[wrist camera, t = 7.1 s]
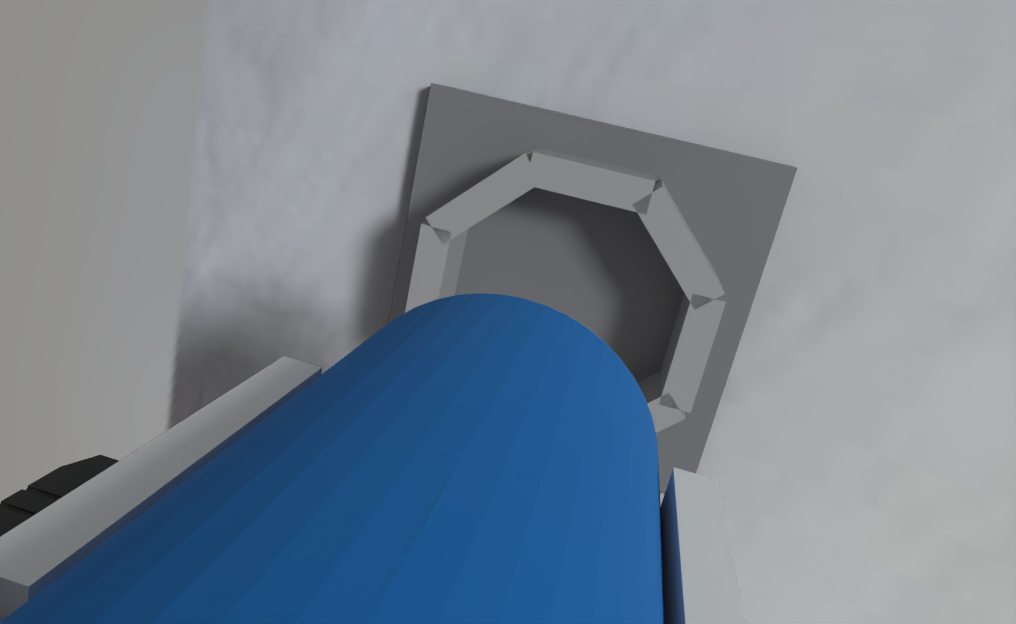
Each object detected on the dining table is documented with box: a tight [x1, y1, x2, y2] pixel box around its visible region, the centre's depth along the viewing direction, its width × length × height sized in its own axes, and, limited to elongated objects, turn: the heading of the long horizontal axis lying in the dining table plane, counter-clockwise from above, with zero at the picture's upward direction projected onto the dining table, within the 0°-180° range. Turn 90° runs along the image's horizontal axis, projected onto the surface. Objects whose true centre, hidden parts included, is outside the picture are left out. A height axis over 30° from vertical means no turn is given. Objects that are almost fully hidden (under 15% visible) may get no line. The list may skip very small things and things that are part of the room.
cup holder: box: [388, 83, 797, 493], centre depth 24 cm, size 12×12×3 cm
